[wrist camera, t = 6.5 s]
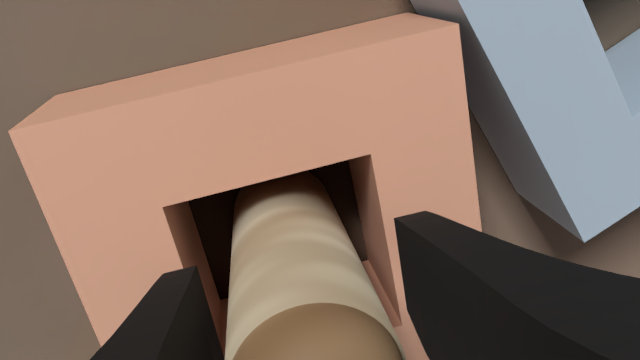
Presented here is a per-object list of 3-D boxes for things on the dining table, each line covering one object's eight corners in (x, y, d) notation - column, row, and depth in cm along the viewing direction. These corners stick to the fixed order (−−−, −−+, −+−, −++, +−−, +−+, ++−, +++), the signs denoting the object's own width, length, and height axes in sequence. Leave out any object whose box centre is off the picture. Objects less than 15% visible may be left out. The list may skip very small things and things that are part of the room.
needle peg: (326, 159, 14) (431, 334, 6) (334, 250, 14) (440, 513, 7) (227, 171, 14) (203, 370, 6) (240, 263, 14) (235, 552, 6)
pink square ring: (407, 12, 13) (458, 23, 10) (448, 302, 16) (497, 372, 13) (55, 95, 12) (8, 131, 10) (167, 381, 15) (155, 472, 12)
